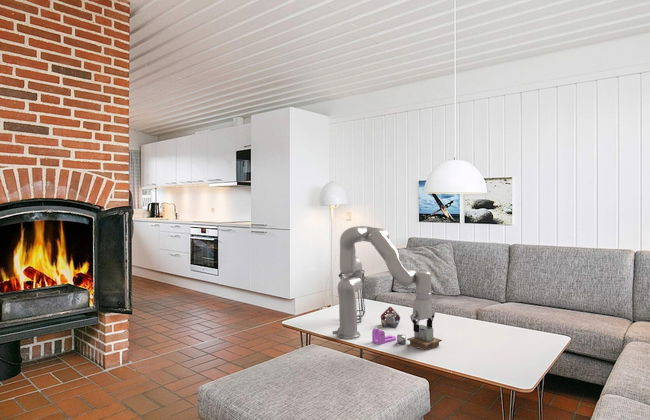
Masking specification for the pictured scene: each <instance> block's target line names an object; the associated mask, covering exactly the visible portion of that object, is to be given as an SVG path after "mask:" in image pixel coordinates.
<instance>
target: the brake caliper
mask: <svg viewBox="0 0 650 420" xmlns="http://www.w3.org/2000/svg"><path fill="white" fill-rule="evenodd" d="M380 319H381V321H380V323H381V327H380V328H382V329H383V328H384V327H386V328H391V327H392V328H397V327H398V326H399V324H400V320H401V316H400V314H398V312H397V311H396V310H395V308H393V307H391V306H389V307H388V308H387V309H386V310H385V311H384V312H382V313H381V315H380Z"/></svg>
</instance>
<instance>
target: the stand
mask: <svg viewBox="0 0 650 420" xmlns="http://www.w3.org/2000/svg"><path fill="white" fill-rule="evenodd" d="M433 339H434V341H430V342H424V341H421V340H418V339H415V338H414V336H412V337H409V338H406V341H409V345H410V346H412V347H415V348H418V349H422V350H424V351H425V350H430V349H434V348H436V347H439V346H440V343H441V342H442V341H443V340H442V339H440V338H436V337H434V336H433Z"/></svg>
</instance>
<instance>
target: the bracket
mask: <svg viewBox="0 0 650 420" xmlns="http://www.w3.org/2000/svg"><path fill="white" fill-rule="evenodd" d="M371 334H372V335H371V339H372V341H371V342H372V343H374V344H376V345H378V346H381V345H385V344H389V343H392V342H395V341H396V342H397V336H395V335H386V333H385V331H384V330H382V329H381V330H380V329H378V328H377V327H375V328H373V329H372V331H371Z"/></svg>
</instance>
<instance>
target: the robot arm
mask: <svg viewBox="0 0 650 420" xmlns="http://www.w3.org/2000/svg"><path fill="white" fill-rule="evenodd" d="M361 242H365V243H370V244H371V245H372V246H373V248H374V249H375V250H376V251H377V253H378V254H379V255H380V257H381V258H382V259H383V261H384V263H385V266H386V267H387V270H388V271H389V273H390V275H392V277H393V279H394V280H395V281H396V282H397V283H398V284H399V285H400V286H401V287H405V288H408V287H411V286H412V285H415V298H414V300H413V304H412V305H413V306H412V314H410V316H409V318H410V320H411V322H412V324H413V325H412V326H413V332H414V331H415V332H419V325H420V324H419V323H420V322H421V321H424V320H426V326H427V327H431V328H433V321H434V318H435V315H436V310H434V309H433V302H432V274H431V272H430V271H427V270H415V269H409V268H407V269H406V268H405V267H404V266H403V264H402V262H401V261H400V257H399V251H398V249H397V248H396V246H394V244H393V243H392V242H391V240H390V234H389V232H388V231H387V230H386V229H384V228H378V227H372V226H364V225H356V226H353V227H350V228H347V229H346V230H344V231H343V232H342V233H341V235H340V238H339V270H340V273H342V275H345V277H344V278H343V279H342V280H341V279H340V281H339V282H338V284H337V287H336V288H337V295H338V306H339V307H338V309H339V310H338V311H339V312H338V313H339V315H338V317H339V319H338V320H339V326H338V328H337V329H336V330H332V332H331V333H332V335H333V336H335V335H336V336H337V337H338V338H340V339H344V340H351V339H353V340H354V339H357V338H359V337H360V336H361V333H360V332H359V331H358V323H357V322H358V320H357V318H358V317H357V315H358V314H357V313H358V311H357V310H358V306H357V305H358V304H357V298H356V297H357V296H356V293H358V292H359V291H360V288H361V286H362V287H363V283H362V273H363V271H362V270H363V263H362V261H361V258H359V257H358V256H356V246H355V244H356V243H361ZM361 289H362V288H361Z"/></svg>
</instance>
